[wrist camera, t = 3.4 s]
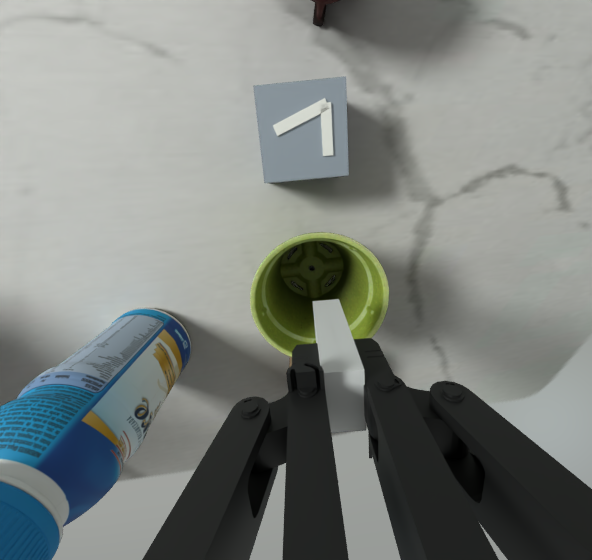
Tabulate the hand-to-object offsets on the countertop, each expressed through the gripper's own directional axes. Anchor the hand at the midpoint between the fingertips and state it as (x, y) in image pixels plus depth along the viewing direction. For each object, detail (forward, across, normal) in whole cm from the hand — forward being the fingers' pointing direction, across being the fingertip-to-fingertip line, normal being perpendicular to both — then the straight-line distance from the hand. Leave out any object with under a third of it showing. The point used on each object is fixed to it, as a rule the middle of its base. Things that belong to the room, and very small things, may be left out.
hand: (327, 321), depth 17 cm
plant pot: (+12, 0, 0) cm, 12 cm away
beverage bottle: (+12, -17, -6) cm, 22 cm away
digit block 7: (+12, 0, +11) cm, 16 cm away
